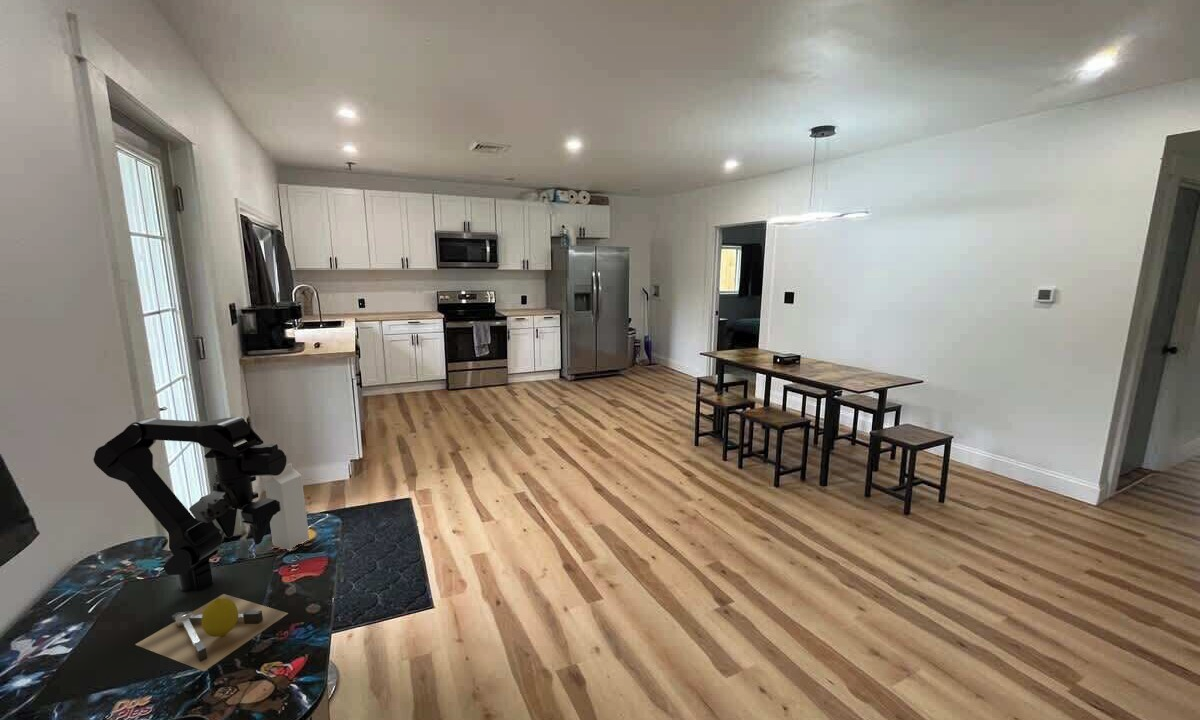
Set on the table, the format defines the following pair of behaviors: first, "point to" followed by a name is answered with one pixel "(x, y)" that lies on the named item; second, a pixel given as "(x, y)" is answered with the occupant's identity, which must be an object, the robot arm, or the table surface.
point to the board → (180, 648)
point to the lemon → (219, 617)
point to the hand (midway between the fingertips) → (244, 540)
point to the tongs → (188, 620)
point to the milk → (288, 508)
